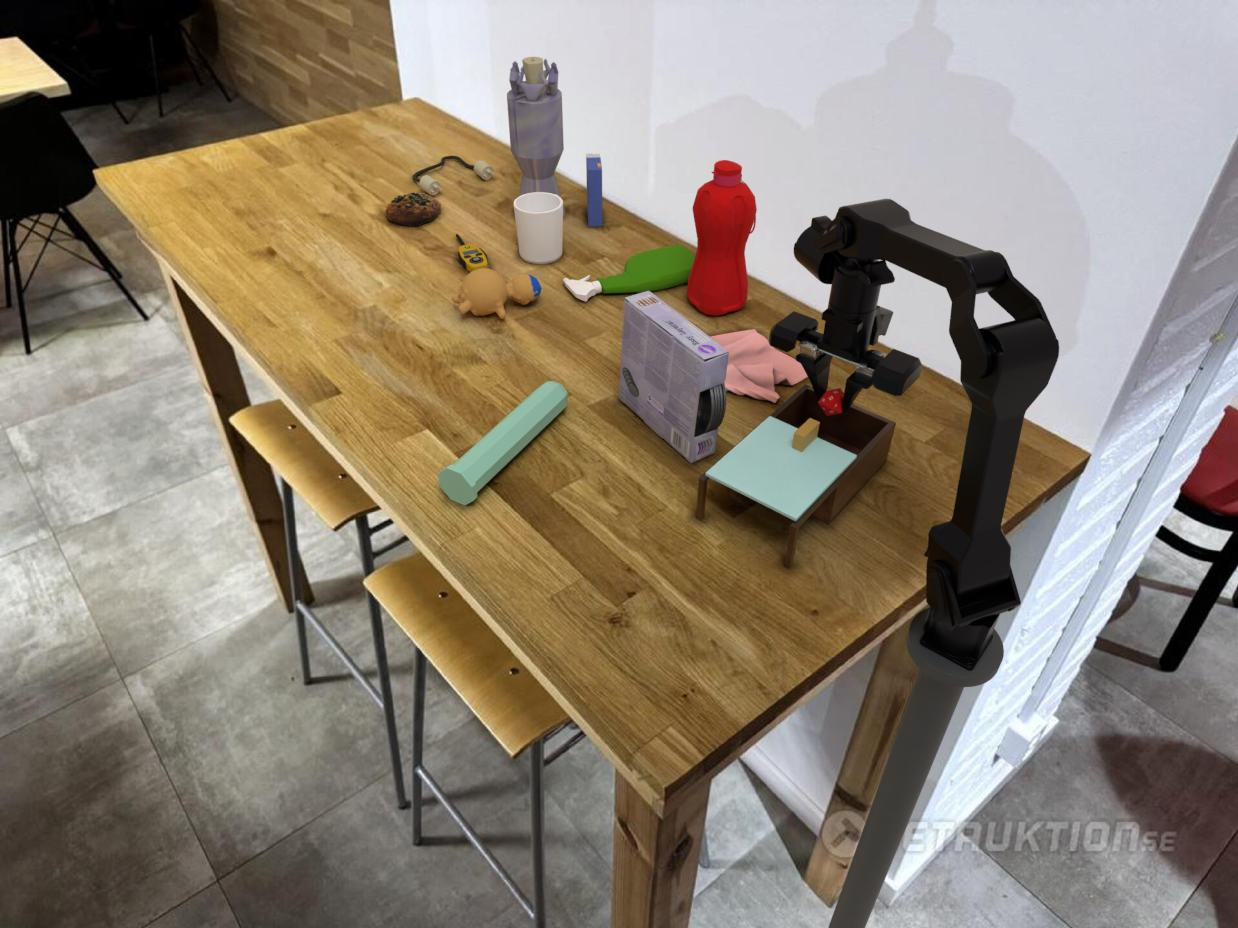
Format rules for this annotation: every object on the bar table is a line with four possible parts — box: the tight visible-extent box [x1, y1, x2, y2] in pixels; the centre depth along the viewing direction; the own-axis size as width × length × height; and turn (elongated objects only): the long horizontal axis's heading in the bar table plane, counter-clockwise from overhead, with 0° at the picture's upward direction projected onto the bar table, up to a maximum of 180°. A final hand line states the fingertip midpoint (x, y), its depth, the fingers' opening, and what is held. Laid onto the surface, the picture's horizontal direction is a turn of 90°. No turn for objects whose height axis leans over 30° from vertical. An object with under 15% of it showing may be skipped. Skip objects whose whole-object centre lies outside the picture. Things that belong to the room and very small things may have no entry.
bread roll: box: [385, 191, 442, 228], centre depth 185 cm, size 11×11×5 cm
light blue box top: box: [705, 415, 857, 522], centre depth 115 cm, size 13×15×3 cm
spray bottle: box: [562, 244, 696, 303], centre depth 165 cm, size 3×11×24 cm
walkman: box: [585, 153, 603, 228], centre depth 181 cm, size 8×3×12 cm, turn 4°
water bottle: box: [686, 159, 758, 317], centre depth 152 cm, size 9×11×25 cm
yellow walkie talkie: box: [455, 233, 489, 273], centre depth 172 cm, size 5×2×15 cm
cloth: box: [708, 328, 808, 404], centre depth 145 cm, size 20×22×2 cm
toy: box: [451, 268, 543, 320], centre depth 156 cm, size 10×8×15 cm
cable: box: [412, 155, 495, 196], centre depth 198 cm, size 16×16×4 cm
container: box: [437, 380, 569, 506], centre depth 128 cm, size 6×6×25 cm
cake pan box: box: [618, 291, 729, 464], centre depth 128 cm, size 19×5×18 cm, turn 34°
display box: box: [695, 383, 897, 569], centre depth 121 cm, size 14×26×7 cm, turn 141°
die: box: [818, 387, 844, 416], centre depth 121 cm, size 4×3×4 cm
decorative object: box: [506, 56, 567, 217], centre depth 177 cm, size 10×10×30 cm
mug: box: [513, 192, 564, 265], centre depth 171 cm, size 11×9×10 cm
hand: (833, 405), depth 122 cm, fingers closed on die, 3 cm apart
